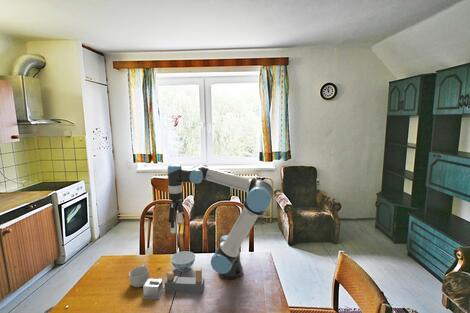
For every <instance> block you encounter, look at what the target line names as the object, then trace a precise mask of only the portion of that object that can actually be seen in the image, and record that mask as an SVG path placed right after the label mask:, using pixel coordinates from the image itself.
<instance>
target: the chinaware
mask: <svg viewBox="0 0 470 313" xmlns="http://www.w3.org/2000/svg"><path fill="white" fill-rule="evenodd" d="M195 259H196V255H195V253H194V252H192V251H190V250H189V251H187V250H186V251H185V250H183V251H178V252H175V253H174V254H172V256H171V257H170V261H171V264H172V266H173V267H174V268H175V269H176V270H178V271H179V272H187V271H188V270H189V269H190V268H191V267H192V266H193V264H194V263H195V261H196V260H195Z"/></svg>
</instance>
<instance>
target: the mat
mask: <svg viewBox="0 0 470 313" xmlns="http://www.w3.org/2000/svg"><path fill="white" fill-rule="evenodd" d="M164 291H165V287H163V290H162V292H161V294H160V295H159V297H144V295H143V296H141V300H142V299H143V300H159V299H160V298H161V296H162V294H163V292H164Z"/></svg>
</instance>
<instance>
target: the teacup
mask: <svg viewBox="0 0 470 313" xmlns="http://www.w3.org/2000/svg"><path fill="white" fill-rule="evenodd" d="M149 270H150V269H149V267H147V266H146V264H142V265H140V266H136V267H134V268H132V269H131V270H130V271H129V272H128V278H129V284H130V285H131V286H132V287H134V288H142V287H143V286H144V284H145V283H146V281H147V280H148V279H150V271H149Z"/></svg>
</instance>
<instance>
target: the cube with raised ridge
mask: <svg viewBox="0 0 470 313" xmlns="http://www.w3.org/2000/svg"><path fill="white" fill-rule="evenodd" d="M163 285H164V284H163V279H162V278H149V279H148V280H147V281H146V283H145V284H144V286H142V287H143V288H142V289H143V296H144V297H159V295H160V294H161V292H162V290H163V288H164V286H163ZM163 291H164V290H163ZM162 293H163V292H162ZM161 295H162V294H161Z"/></svg>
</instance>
